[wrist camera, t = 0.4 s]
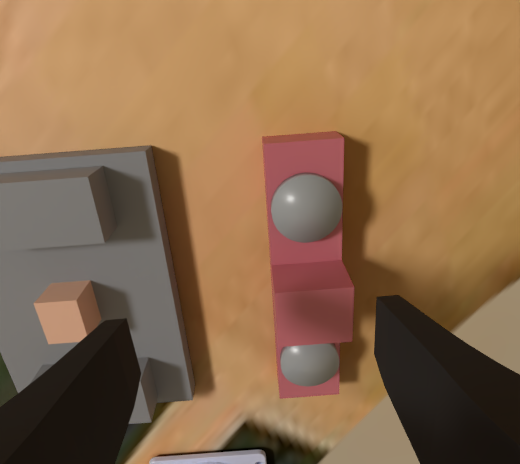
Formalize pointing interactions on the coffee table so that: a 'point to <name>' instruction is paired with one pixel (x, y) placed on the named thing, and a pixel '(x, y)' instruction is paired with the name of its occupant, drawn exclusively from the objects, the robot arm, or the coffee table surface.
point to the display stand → (89, 266)
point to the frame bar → (307, 260)
